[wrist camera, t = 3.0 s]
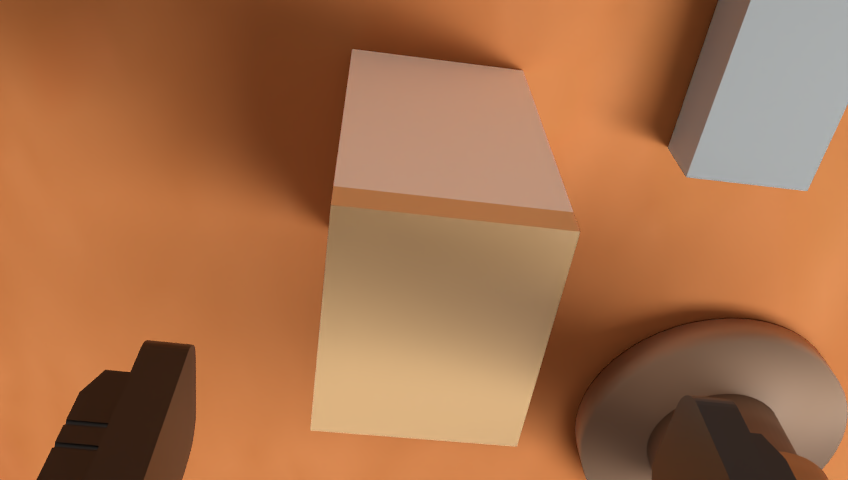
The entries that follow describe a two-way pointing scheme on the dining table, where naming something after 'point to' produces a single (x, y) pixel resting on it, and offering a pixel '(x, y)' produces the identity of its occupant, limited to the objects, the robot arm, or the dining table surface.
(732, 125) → the gray notched plate
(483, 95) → the tan rectangular block
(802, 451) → the doorknob
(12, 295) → the dining table surface
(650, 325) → the dining table surface
